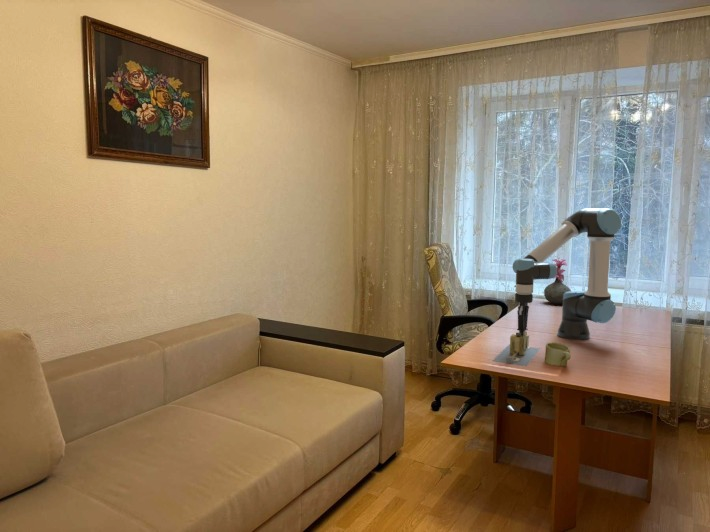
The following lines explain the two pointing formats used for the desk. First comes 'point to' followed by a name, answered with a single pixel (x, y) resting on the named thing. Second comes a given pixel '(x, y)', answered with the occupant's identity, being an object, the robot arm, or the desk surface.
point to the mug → (557, 354)
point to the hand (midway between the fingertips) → (521, 344)
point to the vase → (557, 286)
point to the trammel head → (517, 344)
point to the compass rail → (510, 359)
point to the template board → (519, 359)
